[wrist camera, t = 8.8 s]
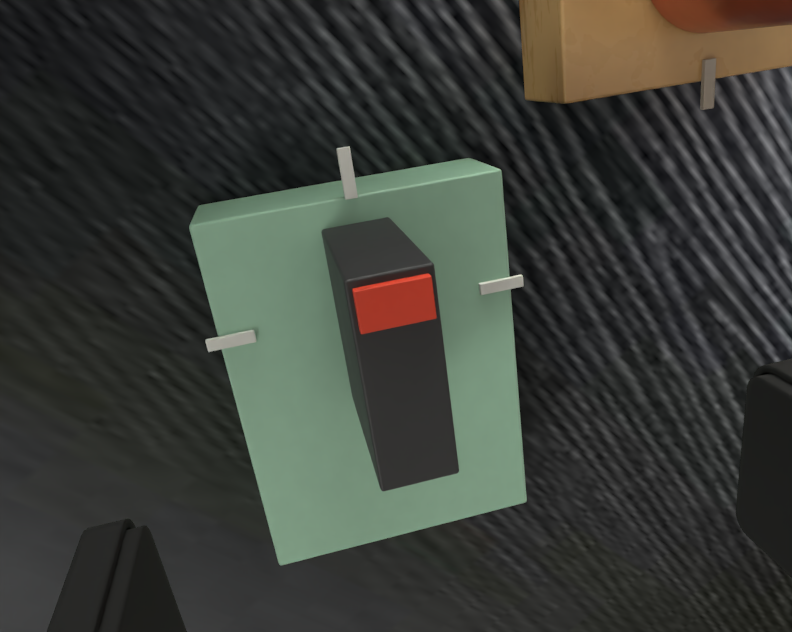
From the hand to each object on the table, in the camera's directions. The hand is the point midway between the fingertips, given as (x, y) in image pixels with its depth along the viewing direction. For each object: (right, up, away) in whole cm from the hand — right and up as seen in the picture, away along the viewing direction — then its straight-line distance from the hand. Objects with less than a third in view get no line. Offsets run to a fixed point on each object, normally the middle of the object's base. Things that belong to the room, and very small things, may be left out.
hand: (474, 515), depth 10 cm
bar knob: (-2, +3, +10) cm, 10 cm away
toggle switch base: (-2, +2, +13) cm, 14 cm away
